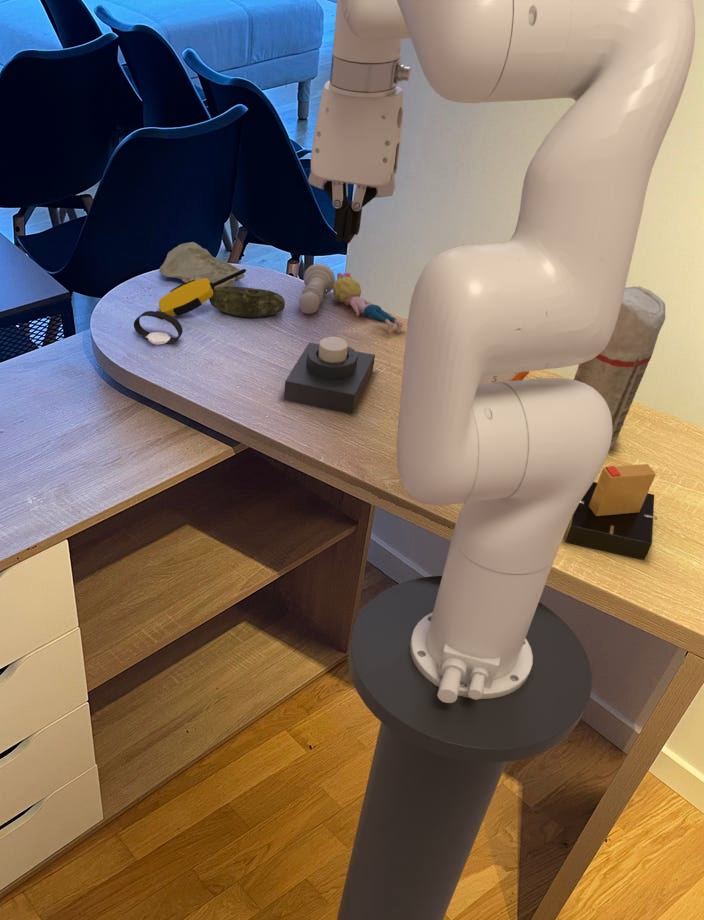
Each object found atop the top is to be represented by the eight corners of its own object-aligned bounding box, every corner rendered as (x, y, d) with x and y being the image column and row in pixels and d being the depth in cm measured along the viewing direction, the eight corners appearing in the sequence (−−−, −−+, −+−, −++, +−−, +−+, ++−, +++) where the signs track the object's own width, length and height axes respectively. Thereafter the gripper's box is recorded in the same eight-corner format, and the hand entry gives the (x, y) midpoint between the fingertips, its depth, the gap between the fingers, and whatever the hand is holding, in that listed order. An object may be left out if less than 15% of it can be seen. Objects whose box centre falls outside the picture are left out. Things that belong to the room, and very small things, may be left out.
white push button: (342, 366, 125) (344, 352, 124) (314, 361, 126) (316, 347, 125) (349, 353, 128) (351, 339, 126) (322, 348, 129) (323, 334, 127)
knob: (631, 502, 108) (648, 462, 104) (639, 512, 106) (656, 472, 102) (588, 506, 107) (603, 465, 103) (595, 516, 106) (611, 476, 102)
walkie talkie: (165, 324, 144) (251, 286, 140) (160, 316, 143) (246, 277, 138) (162, 303, 146) (246, 264, 142) (156, 295, 145) (241, 255, 140)
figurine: (405, 337, 143) (346, 297, 152) (415, 310, 141) (354, 271, 149) (379, 339, 140) (320, 298, 148) (388, 311, 137) (328, 271, 145)
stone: (254, 267, 151) (214, 293, 147) (254, 283, 153) (214, 309, 149) (188, 237, 157) (148, 260, 153) (189, 253, 159) (150, 276, 155)
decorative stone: (279, 304, 148) (281, 280, 145) (286, 317, 145) (288, 293, 142) (208, 309, 146) (208, 285, 144) (213, 323, 143) (213, 298, 140)
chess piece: (339, 290, 150) (326, 320, 145) (309, 295, 152) (295, 324, 147) (331, 260, 146) (317, 289, 141) (300, 265, 149) (286, 295, 143)
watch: (142, 328, 141) (132, 344, 140) (137, 304, 137) (126, 319, 136) (186, 339, 139) (176, 354, 138) (182, 313, 135) (172, 329, 134)
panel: (647, 561, 104) (655, 543, 102) (561, 541, 106) (568, 523, 104) (650, 511, 111) (658, 493, 109) (569, 494, 113) (575, 476, 111)
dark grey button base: (352, 414, 125) (356, 381, 122) (283, 400, 127) (285, 367, 124) (372, 373, 133) (377, 341, 129) (307, 360, 135) (310, 329, 132)
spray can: (569, 414, 126) (617, 272, 112) (626, 435, 122) (683, 292, 108) (543, 439, 121) (589, 295, 107) (601, 462, 118) (656, 317, 104)
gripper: (435, 73, 103) (409, 236, 116) (309, 58, 106) (297, 219, 119) (422, 90, 98) (396, 259, 111) (290, 75, 101) (280, 240, 114)
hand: (345, 238), depth 115 cm, fingers closed
